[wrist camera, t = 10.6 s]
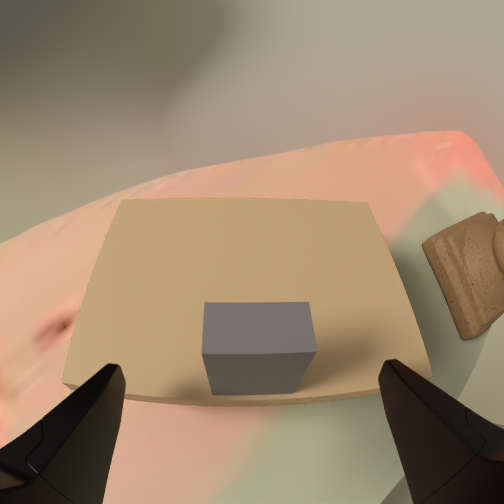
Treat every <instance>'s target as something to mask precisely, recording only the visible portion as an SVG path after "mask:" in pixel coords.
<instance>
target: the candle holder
mask: <svg viewBox="0 0 504 504" xmlns="http://www.w3.org/2000/svg"><path fill="white" fill-rule="evenodd" d="M422 247H423V250H424V252H425V254H426V257H427V259H428V261H429V263H430V266H431V268H432V270H433V272H434V274H435V276H436V279H437V281H438V283H439V285H440V288H441V290H442V292H443V295H444V297H445V299H446V302H447V304H448V307H449V309H450V312H451V314H452V317H453V319H454V322H455V325H456V327H457V330H458V332H459V335H460V337H461V339H462V340H467V339H471V338H475V337H477V336H478V335H479V334H481V333H482V332H484V331H485V330H486V329H487V328H488V327H489V326H490V325H491V324H492V323H494V322H495V320H497V319H498V318H499V317H500V316H501V315H502V314H503V313H504V219H503V220H501V221H500V222H499V223H498V221H497V219H496V218H495V216H494V215H493V214H491V213H490V214H487V215H486V213H485V212H480V213H477V214H475V215H473V216H471V217H469V218H467V219H465V220H463V221H461V222H459V223H457V224H454V225H452V226H450V227H448V228H446V229H444V230H442V231H440V232H438V233H437V234H435V235H433V236H431V237H430V238H429V239H427V240H426V241H425V242H424V243H423V244H422Z"/></svg>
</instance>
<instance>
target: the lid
mask: <svg viewBox="0 0 504 504" xmlns="http://www.w3.org/2000/svg"><path fill="white" fill-rule="evenodd" d="M388 359H397V360H399V361H400V362H402V363H403V364H405V365H406V366H408V367H409V368H411V369H412V370H413V371H415V372H416V373H418V374H419V375H421V376H422V377H424V378H425V379H427V380H429V379H431V378H432V377H433V373H432V370H431V366H430V363H429V359H428V356H427V352H426V349H425V346H424V343H423V340H422V336H421V333H420V330H419V327H418V324H417V321H416V318H415V315H414V313H413V310H412V307H411V304H410V301H409V299H408V296H407V293H406V291H405V288H404V286H403V283H402V280H401V278H400V275H399V273H398V270H397V268H396V266H395V263H394V261H393V258H392V256H391V254H390V251H389V249H388V247H387V244H386V242H385V240H384V238H383V235H382V233H381V231H380V229H379V227H378V225H377V222H376V220H375V218H374V216H373V214H372V212H371V210H370V208H369V206H368V204H367V203H363V202H347V201H328V200H305V199H273V198H162V199H131V200H121V203H120V205H119V207H118V209H117V212H116V214H115V216H114V219H113V221H112V223H111V226H110V228H109V230H108V233H107V235H106V238H105V240H104V243H103V245H102V248H101V250H100V253H99V256H98V258H97V261H96V264H95V266H94V269H93V272H92V275H91V277H90V280H89V283H88V286H87V289H86V292H85V295H84V298H83V301H82V305H81V308H80V311H79V314H78V318H77V321H76V325H75V328H74V332H73V335H72V339H71V343H70V347H69V351H68V355H67V359H66V363H65V368H64V372H63V377H62V383H63V384H64V385H66V386H67V387H69V388H70V389H71V390H76V389H77V388H79V387H80V386H81V385H82V384H83V383H85V382H86V381H87V380H88V379H89V378H91V377H92V376H93V375H94V374H95V373H96V372H98V371H99V370H100V369H101V368H102V367H104V366H105V365H106V364H108V363H114V364H119V365H120V366H121V369H122V372H123V375H124V378H125V381H126V389H125V396H124V399H129V400H136V401H145V402H155V403H166V404H179V405H197V406H272V405H290V404H303V403H314V402H324V401H333V400H341V399H348V398H355V397H362V396H368V395H374V394H379V393H381V391H380V387H379V383H378V376H379V373H380V371H381V368H382V366H383V363H384V361H385V360H388Z"/></svg>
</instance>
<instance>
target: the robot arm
mask: <svg viewBox="0 0 504 504" xmlns="http://www.w3.org/2000/svg"><path fill="white" fill-rule="evenodd" d="M378 383H379V387H380V391H381V396H382V400H383V404H384V409H385V413H386V417H387V420H388V423H389V426H390V429H391V432H392V435H393V438H394V441H395V444H396V447H397V450H398V454H399V457H400V460H401V463H402V466H403V470H404V473H405V476H406V480H407V483H408V487H409V490H410V493H411V497H412V501H413V504H504V429H502V428H501V427H499V426H497V425H495V424H493V423H491V422H490V421H488V420H486V419H484V418H482V417H481V416H480V415H478V414H476V413H475V412H473V411H472V410H470V409H469V408H467V407H465V406H464V405H463V404H461V403H460V402H459V401H457V400H456V399H454V398H453V397H451V396H450V395H448V394H447V393H445V392H444V391H443V390H441V389H440V388H438V387H437V386H435V385H434V384H432V383H431V382H429V381H428V380H427V379H425V378H424V377H422V376H421V375H419V374H418V373H416V372H415V371H413V370H412V369H411V368H409V367H408V366H406V365H405V364H403V363H402V362H400V361H399V360H397V359H388V360H385V361H384V363H383V366H382V368H381V371H380V373H379V376H378ZM125 389H126V381H125V378H124V375H123V372H122V369H121V366H120V365H119V364H114V363H108V364H106V365H105V366H104V367H102V368H101V369H100V370H99V371H98V372H96V373H95V374H94V375H93V376H92V377H91V378H89V379H88V380H87V381H86V382H85V383H83V384H82V385H81V386H80V387H79V388H77V389H76V390H75V391H74V392H73V393H71V394H70V395H69V396H68V397H67V398H65V399H64V400H63V401H62V402H61V403H59V404H58V405H57V406H56V407H55V408H54V409H52V410H51V411H50V412H49V413H48V414H46V415H45V416H44V417H43V418H42V420H41V419H40V420H39V421H38V422H37V423H36V424H34V425H33V426H32V427H31V428H29V429H28V430H27V431H26V432H24V433H23V434H22V435H20V436H19V437H17V438H16V439H14V440H13V441H11V442H10V443H8V444H7V445H5V446H4V447H2V448H1V449H0V504H102V503H103V498H104V493H105V488H106V483H107V479H108V474H109V469H110V465H111V460H112V456H113V452H114V448H115V444H116V440H117V436H118V432H119V428H120V423H121V416H122V409H123V402H124V396H125Z"/></svg>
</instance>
